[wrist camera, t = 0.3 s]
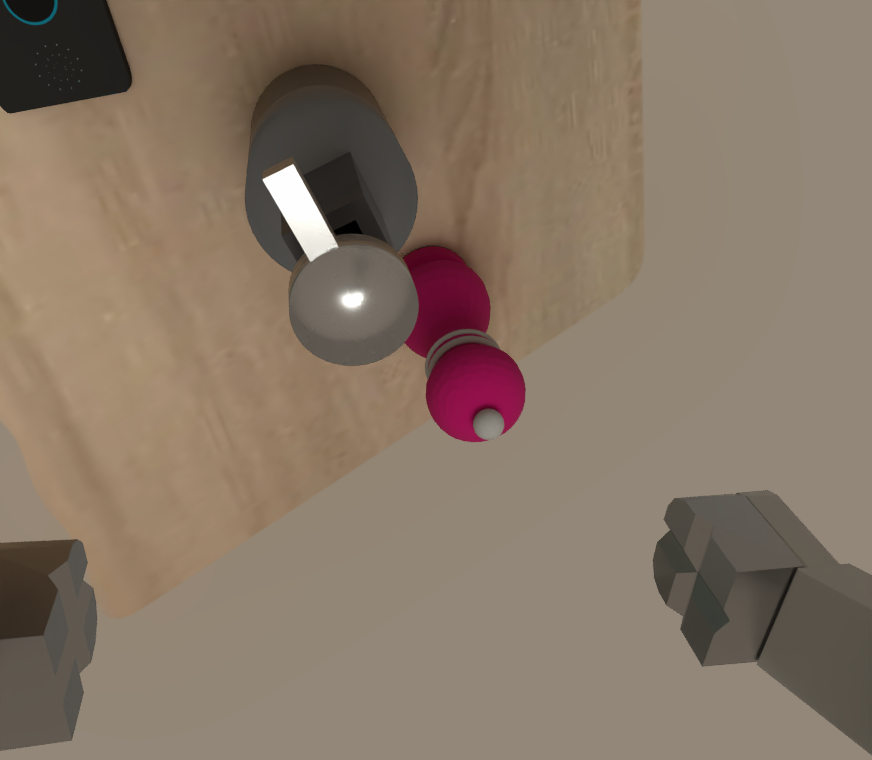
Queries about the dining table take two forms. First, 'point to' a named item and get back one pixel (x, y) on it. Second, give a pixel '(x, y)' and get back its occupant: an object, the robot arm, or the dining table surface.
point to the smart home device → (58, 53)
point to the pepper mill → (461, 350)
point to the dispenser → (328, 160)
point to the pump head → (341, 281)
